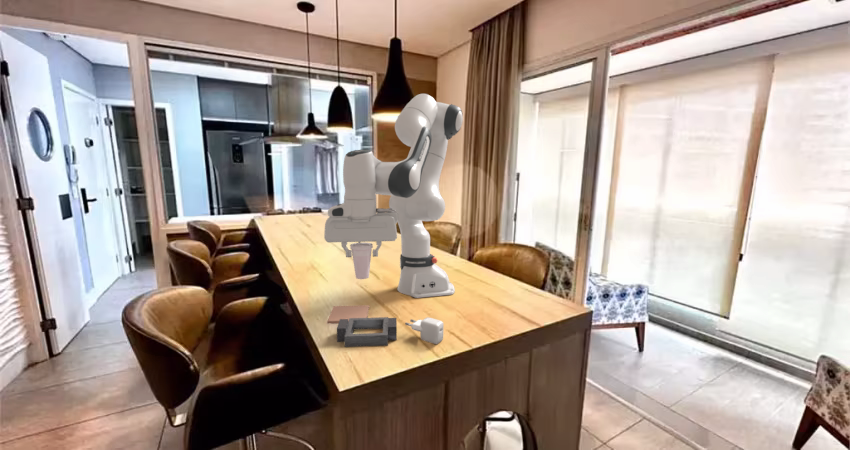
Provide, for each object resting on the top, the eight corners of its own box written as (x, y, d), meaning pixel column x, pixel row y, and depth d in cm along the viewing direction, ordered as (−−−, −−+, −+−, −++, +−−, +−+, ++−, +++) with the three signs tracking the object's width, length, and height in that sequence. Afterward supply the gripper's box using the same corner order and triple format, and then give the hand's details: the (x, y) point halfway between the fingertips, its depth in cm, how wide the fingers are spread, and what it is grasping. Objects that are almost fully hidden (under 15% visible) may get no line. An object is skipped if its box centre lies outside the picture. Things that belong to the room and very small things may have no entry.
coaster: (369, 307, 123) (369, 305, 123) (366, 322, 112) (366, 320, 111) (333, 308, 122) (333, 306, 122) (327, 323, 111) (327, 321, 110)
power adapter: (403, 335, 103) (403, 316, 102) (412, 329, 107) (412, 311, 106) (436, 346, 97) (436, 326, 96) (445, 339, 101) (445, 320, 100)
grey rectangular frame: (396, 326, 109) (396, 313, 109) (396, 345, 98) (396, 331, 97) (341, 327, 108) (341, 315, 107) (335, 347, 96) (335, 333, 96)
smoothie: (352, 274, 106) (350, 228, 104) (373, 273, 107) (372, 227, 105) (350, 280, 100) (348, 231, 98) (373, 280, 101) (372, 230, 99)
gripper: (397, 206, 105) (398, 252, 107) (325, 207, 103) (328, 254, 105) (398, 209, 98) (398, 258, 101) (321, 210, 96) (324, 260, 99)
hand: (362, 256), depth 103 cm, fingers closed on smoothie, 6 cm apart
